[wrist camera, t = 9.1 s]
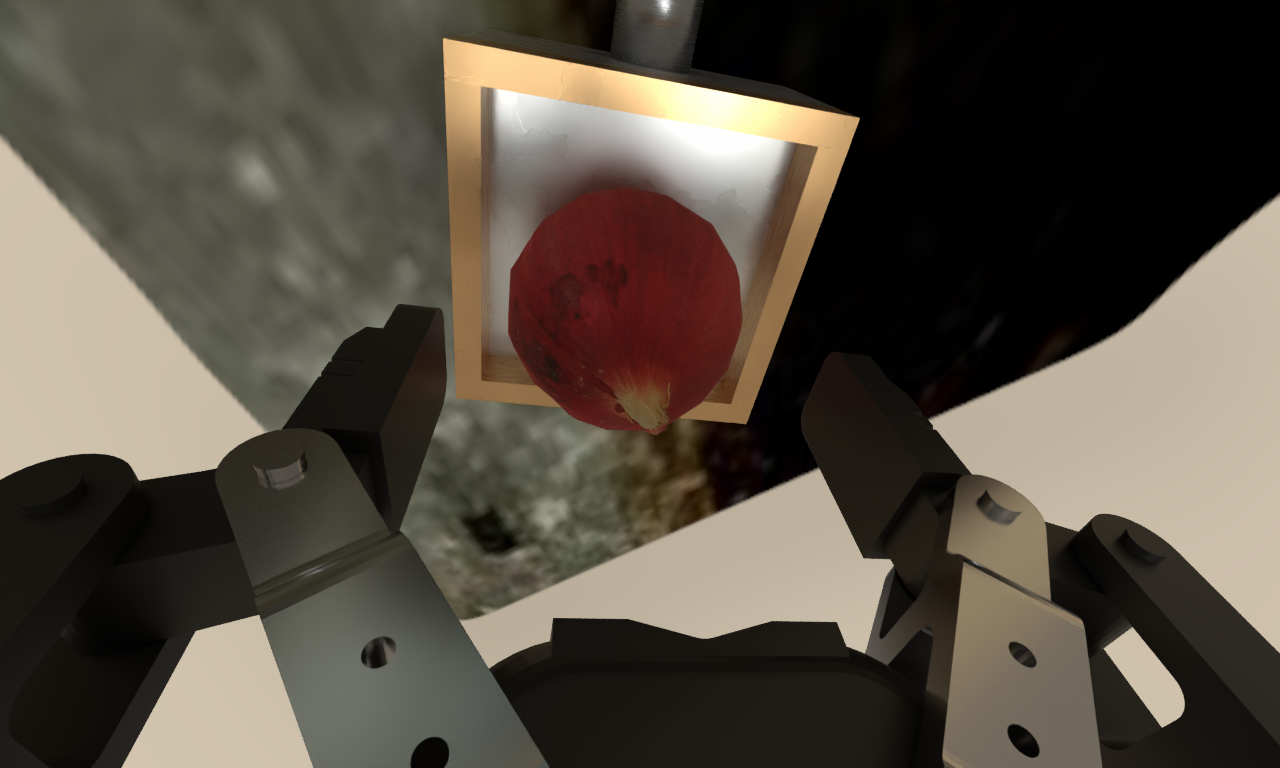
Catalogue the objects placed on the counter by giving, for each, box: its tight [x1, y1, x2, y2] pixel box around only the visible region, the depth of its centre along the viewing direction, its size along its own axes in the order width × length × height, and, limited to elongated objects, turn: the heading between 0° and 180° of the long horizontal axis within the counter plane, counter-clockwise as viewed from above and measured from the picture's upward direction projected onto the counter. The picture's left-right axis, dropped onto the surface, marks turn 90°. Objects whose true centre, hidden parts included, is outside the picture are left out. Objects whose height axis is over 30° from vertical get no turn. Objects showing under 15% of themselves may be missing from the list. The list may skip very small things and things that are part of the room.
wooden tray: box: [443, 0, 860, 424], centre depth 17 cm, size 13×10×6 cm
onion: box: [508, 187, 743, 435], centre depth 13 cm, size 6×6×8 cm
